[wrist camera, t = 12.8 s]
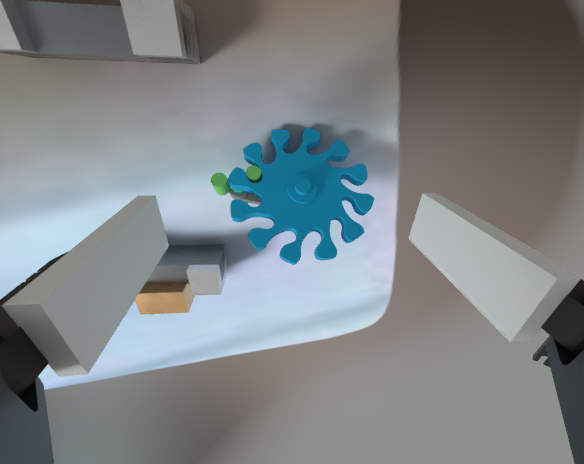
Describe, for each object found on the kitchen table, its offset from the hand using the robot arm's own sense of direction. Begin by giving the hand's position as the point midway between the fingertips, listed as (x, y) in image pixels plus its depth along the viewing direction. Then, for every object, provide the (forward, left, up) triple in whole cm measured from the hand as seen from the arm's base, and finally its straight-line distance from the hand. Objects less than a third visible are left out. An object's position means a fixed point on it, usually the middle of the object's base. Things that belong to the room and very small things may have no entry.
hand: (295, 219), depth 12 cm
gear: (0, 0, -9) cm, 9 cm away
